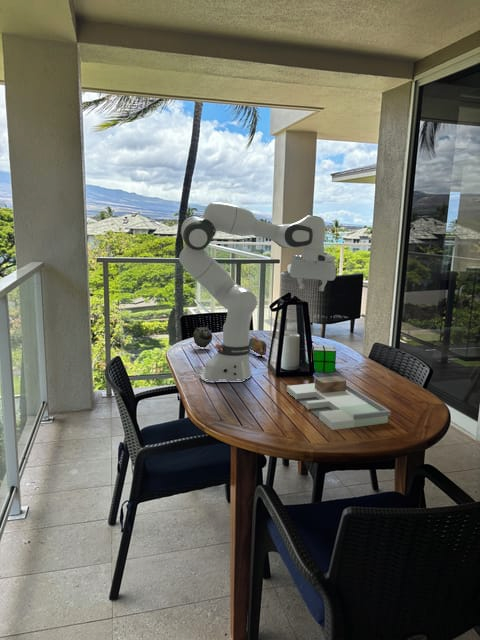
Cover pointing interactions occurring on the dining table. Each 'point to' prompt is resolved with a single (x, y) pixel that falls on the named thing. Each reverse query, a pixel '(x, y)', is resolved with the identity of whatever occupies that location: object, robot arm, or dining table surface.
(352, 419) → the trap board
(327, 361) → the puzzle cube
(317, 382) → the walnut bar
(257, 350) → the brown rounded lump
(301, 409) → the dining table surface
